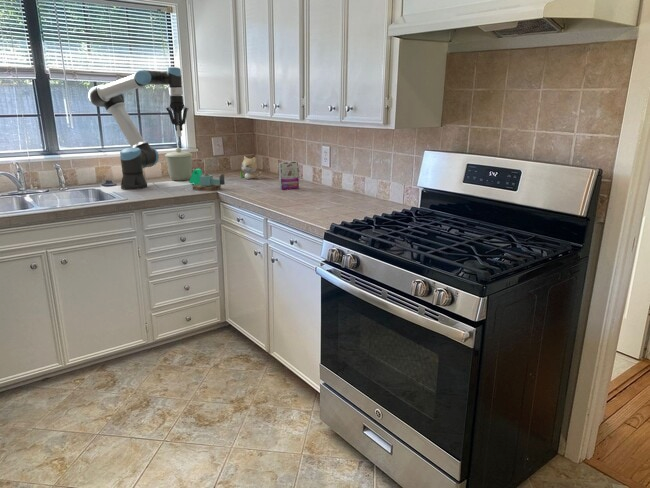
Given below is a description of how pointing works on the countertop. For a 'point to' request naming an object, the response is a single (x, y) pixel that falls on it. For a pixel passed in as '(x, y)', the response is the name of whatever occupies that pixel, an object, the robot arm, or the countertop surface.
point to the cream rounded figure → (249, 168)
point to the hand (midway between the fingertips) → (179, 136)
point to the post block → (208, 188)
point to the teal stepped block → (211, 180)
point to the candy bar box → (288, 175)
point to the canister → (179, 165)
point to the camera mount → (196, 176)
